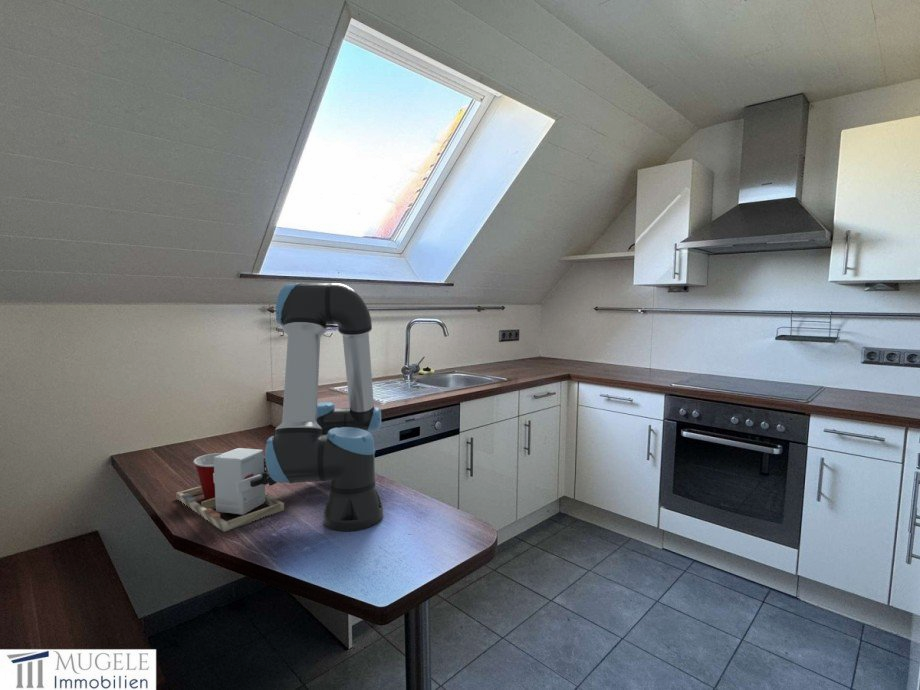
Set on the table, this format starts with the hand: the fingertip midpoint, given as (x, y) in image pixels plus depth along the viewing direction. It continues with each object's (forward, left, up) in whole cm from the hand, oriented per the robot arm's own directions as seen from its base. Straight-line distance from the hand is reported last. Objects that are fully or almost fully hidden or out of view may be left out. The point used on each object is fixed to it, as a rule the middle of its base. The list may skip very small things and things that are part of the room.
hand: (225, 482), depth 121 cm
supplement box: (0, -4, -8) cm, 9 cm away
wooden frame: (+8, -4, -9) cm, 13 cm away
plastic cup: (+16, -4, -10) cm, 19 cm away
